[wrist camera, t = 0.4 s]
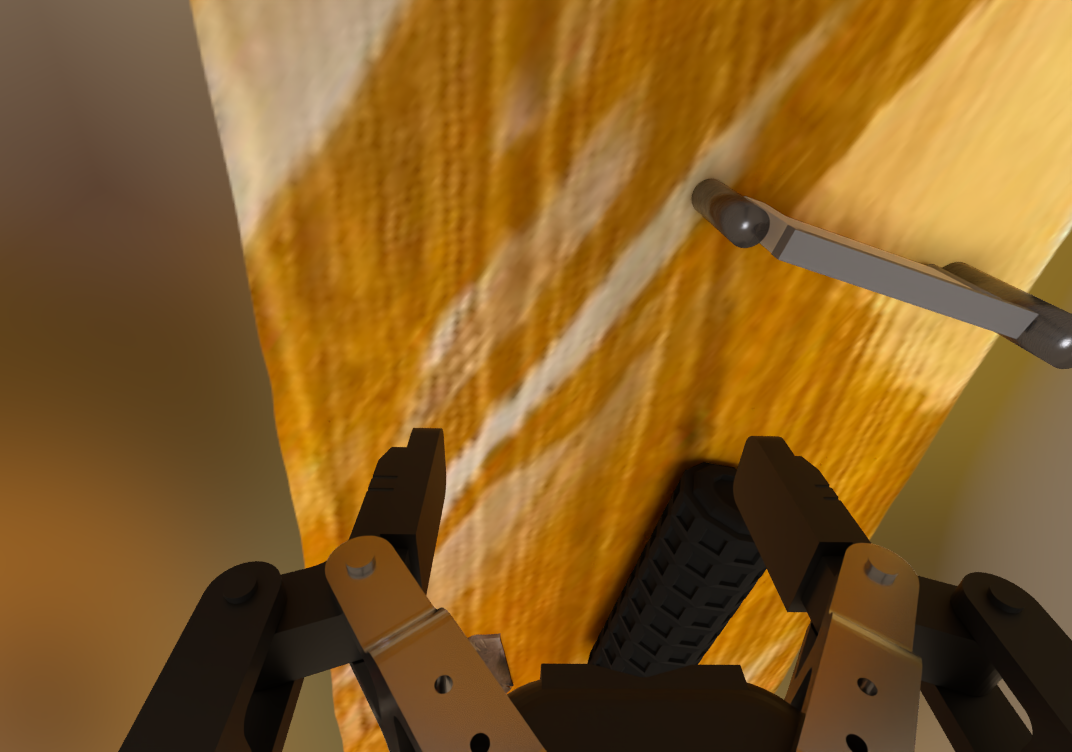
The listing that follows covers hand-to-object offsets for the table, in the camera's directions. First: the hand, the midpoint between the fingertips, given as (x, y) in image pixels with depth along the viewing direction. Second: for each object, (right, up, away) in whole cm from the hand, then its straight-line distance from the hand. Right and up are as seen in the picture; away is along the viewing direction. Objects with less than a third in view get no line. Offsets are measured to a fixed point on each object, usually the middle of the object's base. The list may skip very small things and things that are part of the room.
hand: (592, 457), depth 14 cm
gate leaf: (+21, +12, +24) cm, 34 cm away
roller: (+12, -21, +46) cm, 52 cm away
